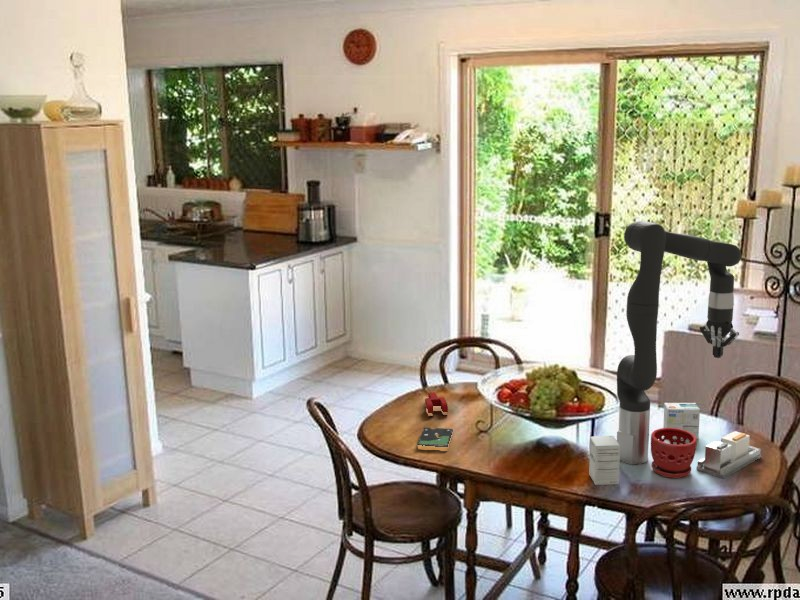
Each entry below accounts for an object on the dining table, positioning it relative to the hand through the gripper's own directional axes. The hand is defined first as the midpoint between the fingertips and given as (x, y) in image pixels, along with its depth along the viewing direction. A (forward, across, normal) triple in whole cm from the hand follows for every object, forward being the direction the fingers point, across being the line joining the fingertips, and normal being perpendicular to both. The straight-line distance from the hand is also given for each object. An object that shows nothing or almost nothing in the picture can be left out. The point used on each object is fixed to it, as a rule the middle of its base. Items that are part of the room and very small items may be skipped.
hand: (717, 357), depth 270 cm
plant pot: (+29, +4, -30) cm, 42 cm away
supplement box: (+29, -7, -49) cm, 57 cm away
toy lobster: (+30, -86, -46) cm, 102 cm away
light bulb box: (+29, -10, -3) cm, 31 cm away
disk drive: (+30, -63, -66) cm, 96 cm away
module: (+28, +12, -9) cm, 32 cm away
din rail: (+29, +12, -12) cm, 34 cm away
